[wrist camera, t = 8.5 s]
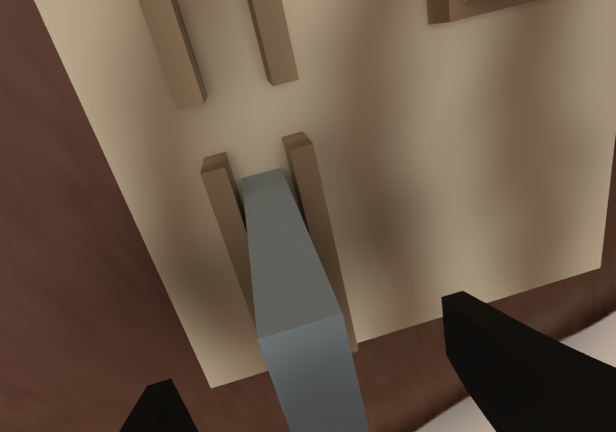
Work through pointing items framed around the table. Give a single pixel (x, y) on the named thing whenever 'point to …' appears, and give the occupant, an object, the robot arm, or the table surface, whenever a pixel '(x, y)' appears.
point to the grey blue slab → (298, 314)
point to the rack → (351, 147)
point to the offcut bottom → (465, 8)
